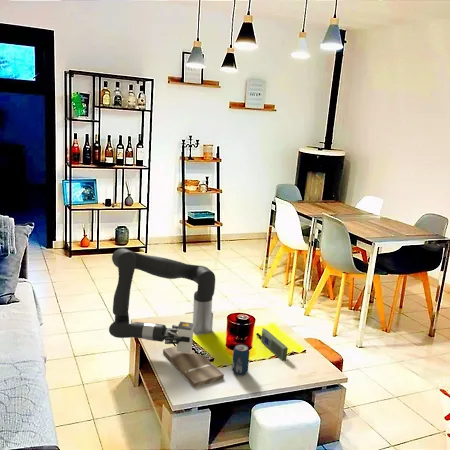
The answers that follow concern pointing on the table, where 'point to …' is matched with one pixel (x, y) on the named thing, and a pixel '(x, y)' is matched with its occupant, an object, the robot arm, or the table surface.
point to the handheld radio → (273, 344)
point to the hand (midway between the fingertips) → (190, 336)
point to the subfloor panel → (193, 366)
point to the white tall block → (185, 331)
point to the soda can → (240, 359)
